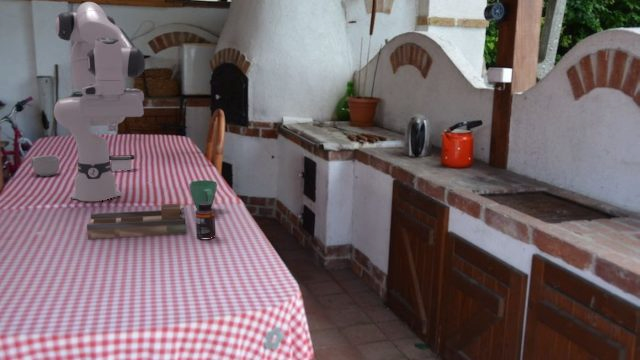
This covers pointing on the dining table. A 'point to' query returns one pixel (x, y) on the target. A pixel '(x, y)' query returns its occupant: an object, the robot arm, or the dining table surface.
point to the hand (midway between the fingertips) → (112, 130)
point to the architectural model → (121, 162)
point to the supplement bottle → (205, 220)
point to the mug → (203, 191)
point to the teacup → (45, 165)
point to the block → (170, 211)
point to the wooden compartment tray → (133, 224)
